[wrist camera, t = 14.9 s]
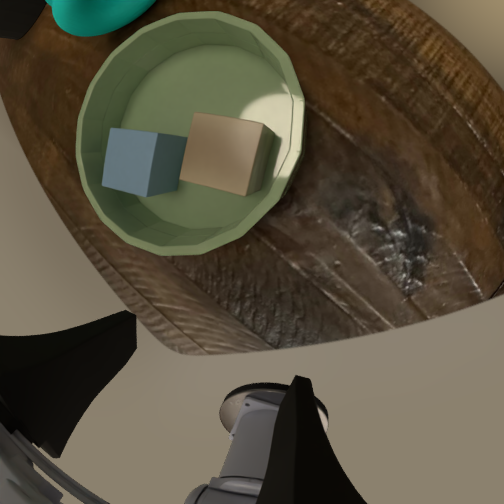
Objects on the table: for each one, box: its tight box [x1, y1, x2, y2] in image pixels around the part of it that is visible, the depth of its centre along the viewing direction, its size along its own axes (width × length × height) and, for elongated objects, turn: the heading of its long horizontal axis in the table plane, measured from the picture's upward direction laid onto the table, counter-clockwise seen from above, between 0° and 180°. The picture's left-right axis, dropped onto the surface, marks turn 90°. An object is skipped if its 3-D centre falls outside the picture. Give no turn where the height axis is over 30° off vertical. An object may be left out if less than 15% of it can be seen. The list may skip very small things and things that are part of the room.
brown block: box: [179, 112, 275, 197], centre depth 15 cm, size 4×4×4 cm
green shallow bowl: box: [76, 11, 308, 256], centre depth 15 cm, size 15×15×5 cm
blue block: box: [102, 128, 187, 197], centre depth 17 cm, size 4×4×4 cm
